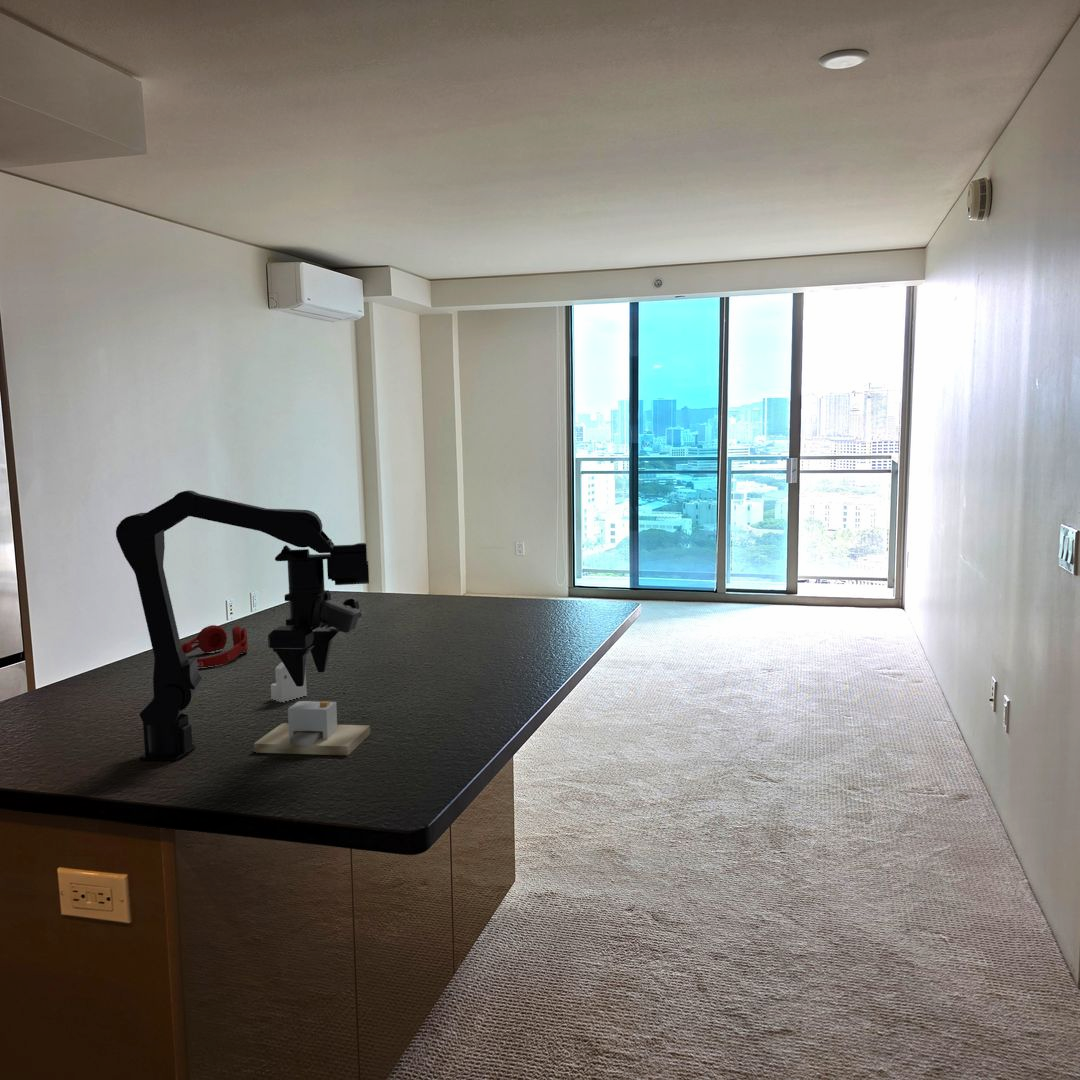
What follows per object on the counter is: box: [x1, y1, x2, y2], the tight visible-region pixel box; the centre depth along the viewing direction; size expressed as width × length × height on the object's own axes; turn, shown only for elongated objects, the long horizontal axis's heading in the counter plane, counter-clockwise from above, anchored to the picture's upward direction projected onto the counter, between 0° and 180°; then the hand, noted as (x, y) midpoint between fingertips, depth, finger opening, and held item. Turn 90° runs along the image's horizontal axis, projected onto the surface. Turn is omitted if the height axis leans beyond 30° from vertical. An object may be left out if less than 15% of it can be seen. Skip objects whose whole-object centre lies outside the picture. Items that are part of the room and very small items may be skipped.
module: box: [287, 700, 338, 739], centre depth 152 cm, size 7×4×6 cm
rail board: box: [253, 722, 371, 756], centre depth 152 cm, size 16×11×2 cm
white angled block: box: [270, 661, 308, 703], centre depth 181 cm, size 4×10×9 cm, turn 141°
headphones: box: [181, 624, 249, 667], centre depth 216 cm, size 15×7×20 cm
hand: (311, 679), depth 151 cm, fingers open, 9 cm apart
